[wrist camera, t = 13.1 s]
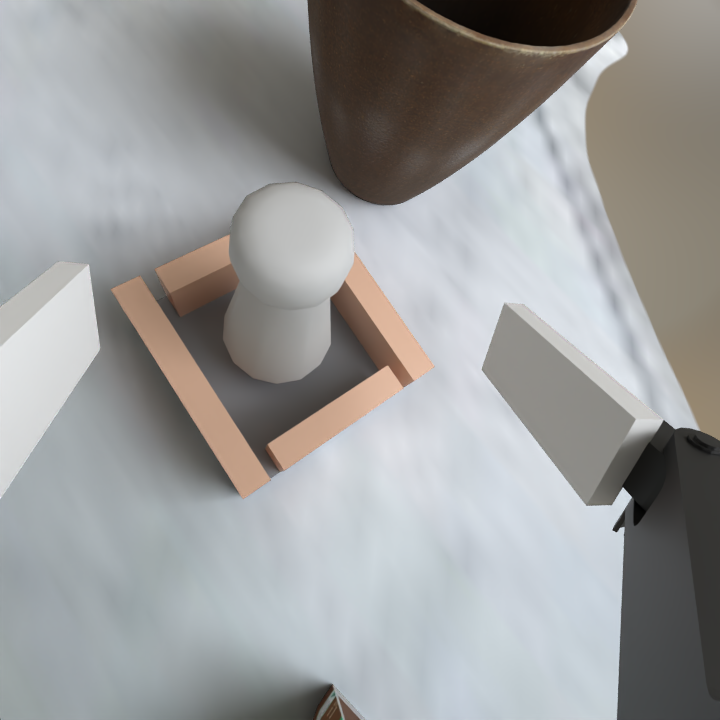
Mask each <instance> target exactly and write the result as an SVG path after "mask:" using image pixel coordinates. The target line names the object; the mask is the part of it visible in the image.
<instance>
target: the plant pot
mask: <svg viewBox="0 0 720 720" xmlns="http://www.w3.org/2000/svg"><path fill="white" fill-rule="evenodd" d="M637 1H638V0H308V16H309V32H310V43H311V54H312V63H313V72H314V80H315V87H316V95H317V101H318V107H319V113H320V118H321V124H322V128H323V133H324V138H325V142H326V146H327V150H328V154H329V158H330V161H331V165H332V167H333V170H334V172H335V174H336V176H337V177H338V179H339V180H340V182H341V183H342V184H343V185H344V186H345V187H346V188H347V189H348V190H349V191H350V192H352V193H353V194H354V195H356V196H357V197H359V198H361V199H363V200H365V201H368V202H371V203H375V204H380V205H395V204H399V203H402V202H405V201H407V200H409V199H411V198H413V197H415V196H417V195H419V194H421V193H423V192H424V191H426V190H428V189H430V188H431V187H433V186H435V185H436V184H438V183H440V182H441V181H443V180H444V179H446V178H448V177H449V176H451V175H452V174H454V173H455V172H456V171H458V170H459V169H461V168H462V167H464V166H465V165H467V164H468V163H469V162H471V161H472V160H474V159H475V158H476V157H478V156H479V155H480V154H482V153H483V152H484V151H486V150H487V149H488V148H490V147H491V146H492V145H493V144H495V143H496V142H497V141H498V140H500V139H501V138H502V137H503V136H505V135H506V134H507V133H508V132H509V131H511V130H512V129H513V128H514V127H516V126H517V125H518V124H519V123H520V122H521V121H523V120H524V119H525V118H526V117H527V116H529V115H530V114H531V113H532V112H533V111H534V110H535V109H537V108H538V107H539V106H540V105H541V104H542V103H544V102H545V101H546V100H547V99H548V98H549V97H550V96H551V95H552V94H553V93H554V92H555V91H557V90H558V89H559V88H560V87H561V86H562V85H563V84H564V83H565V82H566V81H567V80H568V79H569V78H570V77H571V76H572V75H574V74H575V73H576V72H577V71H578V70H579V69H580V68H581V67H582V66H583V65H584V64H585V63H586V62H587V61H588V60H589V59H590V58H591V57H592V56H593V55H594V54H595V53H596V52H598V51H599V50H600V49H601V48H602V47H603V46H604V45H605V44H606V43H607V42H608V41H609V40H610V39H611V38H612V37H613V36H614V35H615V34H616V33H617V32H618V31H619V30H620V29H621V28H622V27H623V26H624V25H625V24H626V22H627V21H628V20H629V18H630V16H631V15H632V13H633V11H634V9H635V7H636V3H637Z"/></svg>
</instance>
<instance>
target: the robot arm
mask: <svg viewBox="0 0 720 720" xmlns="http://www.w3.org/2000/svg"><path fill="white" fill-rule="evenodd" d="M99 350H100V342H99V335H98V328H97V320H96V313H95V306H94V298H93V291H92V284H91V276H90V269H89V264H83V263H72V262H61V261H58V262H57V263H55V264H54V265H53V266H52V267H50V268H49V269H48V270H47V271H45V272H44V273H43V274H42V275H40V276H39V277H38V278H36V279H35V280H34V281H33V282H31V283H30V284H29V285H28V286H26V287H25V288H24V289H22V290H21V291H20V292H19V293H17V294H16V295H15V296H14V297H12V298H11V299H10V300H9V301H7V302H6V303H5V304H3V305H2V306H1V307H0V499H1V498H2V496H3V495H4V493H5V492H6V490H7V489H8V487H9V486H10V484H11V483H12V481H13V480H14V478H15V477H16V475H17V474H18V472H19V471H20V469H21V468H22V466H23V465H24V463H25V462H26V460H27V459H28V457H29V456H30V454H31V453H32V451H33V450H34V448H35V447H36V445H37V444H38V442H39V441H40V439H41V438H42V436H43V435H44V433H45V431H46V430H47V428H48V427H49V425H50V424H51V422H52V421H53V419H54V418H55V416H56V415H57V413H58V412H59V410H60V409H61V407H62V406H63V404H64V403H65V401H66V400H67V398H68V397H69V395H70V394H71V392H72V391H73V389H74V388H75V386H76V385H77V383H78V382H79V380H80V379H81V377H82V376H83V374H84V373H85V371H86V370H87V368H88V367H89V365H90V364H91V362H92V361H93V359H94V358H95V356H96V355H97V353H98V352H99ZM482 371H483V372H484V373H485V375H486V376H487V377H488V379H489V380H490V381H491V383H492V384H493V385H494V386H495V388H496V389H497V390H498V392H499V393H500V394H501V395H502V397H503V398H504V399H505V401H506V402H507V403H508V405H509V406H510V407H511V408H512V410H513V411H514V412H515V414H516V415H517V416H518V418H519V419H520V420H521V421H522V423H523V424H524V425H525V427H526V428H527V429H528V431H529V432H530V433H531V434H532V436H533V437H534V438H535V440H536V441H537V442H538V443H539V445H540V446H541V447H542V449H543V450H544V451H545V453H546V454H547V455H548V456H549V458H550V459H551V460H552V462H553V463H554V464H555V466H556V467H557V468H558V469H559V471H560V472H561V473H562V475H563V476H564V477H565V479H566V480H567V481H568V482H569V484H570V485H571V486H572V488H573V489H574V490H575V491H576V493H577V494H578V495H579V497H580V498H581V499H582V501H583V502H584V503H585V504H586V506H592V505H612V504H613V502H614V501H615V499H616V497H617V496H618V494H619V492H620V491H621V489H622V488H623V487H624V489H625V490H626V491H627V492H628V493H629V494H630V495H631V496H632V499H631V500H630V502H629V503H628V505H627V507H626V508H625V510H624V511H623V513H622V514H621V516H620V518H619V519H618V521H617V522H616V524H615V525H614V528H613V531H615V532H617V531H618V530H619V528H621V527H625V532H624V558H623V583H622V608H621V634H620V659H619V684H618V709H617V720H720V441H719V440H717V439H716V438H714V437H712V436H710V435H708V434H705V433H703V432H700V431H697V430H694V429H690V428H679V429H676V430H675V429H674V428H673V427H672V426H670V425H669V424H668V423H667V422H665V421H664V420H663V419H662V418H661V417H660V416H658V415H657V414H656V413H655V412H654V411H652V410H651V409H650V408H649V407H648V406H646V405H645V404H644V403H643V402H641V401H640V400H639V399H638V398H637V397H635V396H634V395H633V394H632V393H631V392H629V391H628V390H627V389H626V388H624V387H623V386H622V385H621V384H620V383H618V382H617V381H616V380H615V379H614V378H612V377H611V376H610V375H609V374H608V373H606V372H605V371H604V370H603V369H601V368H600V367H599V366H598V365H597V364H595V363H594V362H593V361H592V360H591V359H589V358H588V357H587V356H586V355H585V354H583V353H582V352H581V351H580V350H578V349H577V348H576V347H575V346H574V345H572V344H571V343H570V342H569V341H568V340H566V339H565V338H564V337H563V336H561V335H560V334H559V333H558V332H557V331H555V330H554V329H553V328H552V327H551V326H549V325H548V324H547V323H546V322H545V321H543V320H542V319H541V318H540V317H538V316H537V315H536V314H535V313H534V312H532V311H531V310H530V309H529V308H528V307H526V306H525V305H524V304H514V303H504V305H503V308H502V311H501V314H500V317H499V320H498V323H497V326H496V329H495V332H494V335H493V337H492V340H491V343H490V346H489V349H488V352H487V355H486V358H485V361H484V364H483V367H482ZM0 720H1V719H0Z"/></svg>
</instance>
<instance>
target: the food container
mask: <svg viewBox="0 0 720 720" xmlns="http://www.w3.org/2000/svg"><path fill="white" fill-rule="evenodd" d="M313 720H365V719H364V717H363V716H362V715H361V714H360V713H359V712H358V711H357V710H356V709H355V708H354V707H353V706H352V705H351V703H350V702H349V701H348V700H347V699H346V698H345V697H344V696H343V695H342V694H341V693H340V692H339V691H338V690H337V688H336V687H335V686H334V685H333V684H332V685H331V687H330V688H329V690H328V691H327V693H326V694H325V696H324V697H323V699H322V700H321V702H320V703H319V705H318V707H317V710H316V712H315V715H314V718H313Z"/></svg>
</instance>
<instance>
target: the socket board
mask: <svg viewBox="0 0 720 720" xmlns="http://www.w3.org/2000/svg"><path fill="white" fill-rule="evenodd" d="M229 239H230V234H229V235H227V236H225V237H223V238H220V239H218V240H216V241H214V242H212V243H210V244H207V245H205V246H203V247H201V248H199V249H197V250H194V251H192V252H190V253H188V254H186V255H184V256H181V257H179V258H177V259H175V260H173V261H171V262H168V263H166V264H164V265H162V266H160V267H158V268H155V271H156V274H157V276H158V278H159V280H160V282H161V285H162V287H163V289H164V291H165V294H166V297H164V298H162V299H160V300H157V301H156V300H155V298H154V296H153V295H152V293H151V292H150V290H149V289H148V287H147V286H146V284H145V282H144V281H143V279H142V278H141V276H138V277H136V278H134V279H132V280H129V281H127V282H125V283H123V284H121V285H119V286H116V287H114V288H112V289H111V291H112V292H113V294H114V296H115V297H116V299H117V300H118V302H119V304H120V305H121V307H122V308H123V310H124V311H125V313H126V315H127V316H128V318H129V319H130V321H131V322H132V324H133V326H134V327H135V329H136V330H137V332H138V334H139V335H140V337H141V338H142V340H143V341H144V343H145V345H146V346H147V348H148V349H149V351H150V353H151V354H152V356H153V357H154V359H155V360H156V362H157V364H158V365H159V367H160V368H161V370H162V372H163V373H164V375H165V376H166V378H167V379H168V381H169V383H170V384H171V386H172V387H173V389H174V391H175V392H176V394H177V395H178V397H179V398H180V400H181V402H182V403H183V405H184V406H185V408H186V410H187V411H188V413H189V414H190V416H191V417H192V419H193V421H194V422H195V424H196V425H197V427H198V429H199V430H200V432H201V433H202V435H203V436H204V438H205V440H206V441H207V443H208V444H209V446H210V448H211V449H212V451H213V452H214V454H215V455H216V457H217V459H218V460H219V462H220V463H221V465H222V467H223V468H224V470H225V471H226V473H227V474H228V476H229V478H230V479H231V481H232V482H233V484H234V486H235V487H236V489H237V490H238V492H239V493H240V495H241V497H242V498H243V499H244V498H245V497H247V496H248V495H250V494H251V493H253V492H254V491H256V490H257V489H259V488H260V487H261V486H263V485H264V484H266V483H267V482H269V481H270V480H271V479H270V478H272V477H273V476H275V475H276V474H278V473H279V472H281V471H285V470H286V469H287V468H289V467H290V466H292V465H293V464H295V463H296V462H298V461H299V460H300V459H302V458H303V457H305V456H306V455H308V454H309V453H311V452H312V451H314V450H315V449H316V448H318V447H319V446H321V445H322V444H324V443H325V442H327V441H328V440H329V439H331V438H332V437H334V436H335V435H337V434H338V433H340V432H341V431H342V430H344V429H345V428H347V427H348V426H350V425H351V424H353V423H354V422H356V421H357V420H358V419H360V418H361V417H363V416H364V415H366V414H367V413H369V412H370V411H371V410H373V409H374V408H376V407H377V406H379V405H380V404H382V403H383V402H384V401H386V400H387V399H389V398H390V397H392V396H393V395H395V394H396V393H397V392H399V391H400V390H402V389H403V387H405V386H407V385H408V384H410V383H412V382H413V381H415V380H416V379H418V378H419V377H421V376H422V375H424V374H425V373H426V372H428V371H429V370H431V369H432V368H434V365H433V364H432V362H431V361H430V359H429V358H428V357H427V355H426V354H425V352H424V351H423V349H422V348H421V346H420V345H419V344H418V342H417V341H416V339H415V338H414V336H413V335H412V334H411V332H410V331H409V329H408V328H407V326H406V325H405V323H404V322H403V321H402V319H401V318H400V316H399V315H398V313H397V312H396V311H395V309H394V308H393V306H392V305H391V303H390V302H389V300H388V299H387V298H386V296H385V295H384V293H383V292H382V290H381V289H380V288H379V286H378V285H377V283H376V282H375V280H374V279H373V277H372V276H371V275H370V273H369V272H368V270H367V269H366V267H365V266H364V265H363V263H362V262H361V260H360V259H359V257H358V256H357V254H356V253H355V252H354V264H353V266H352V268H351V269H350V271H349V273H348V275H347V277H346V279H345V280H344V282H343V284H342V286H341V287H340V289H339V290H338V292H337V293H336V294H334V295H333V296H331V297H330V322H331V345H330V347H329V349H328V351H327V353H326V355H325V357H324V358H323V360H322V362H321V364H320V365H319V366H318V367H316V368H315V369H314V370H313V371H311V372H310V373H309V374H307V375H306V376H305V377H303V378H302V379H300V380H296V381H290V382H284V383H279V384H274V383H270V382H266V381H262V380H258V379H254V378H252V377H251V376H249V375H248V374H247V373H246V372H245V371H243V370H242V369H241V368H240V367H238V366H237V365H236V364H235V363H234V362H233V361H232V358H231V356H230V354H229V352H228V350H227V347H226V345H225V343H224V341H223V329H224V316H225V313H226V311H227V309H228V306H229V304H230V302H231V300H232V297H233V295H234V293H235V290H236V288H237V286H238V284H239V281H240V280H239V278H238V276H237V274H236V272H235V270H234V268H233V266H232V264H231V262H230V257H229Z"/></svg>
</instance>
